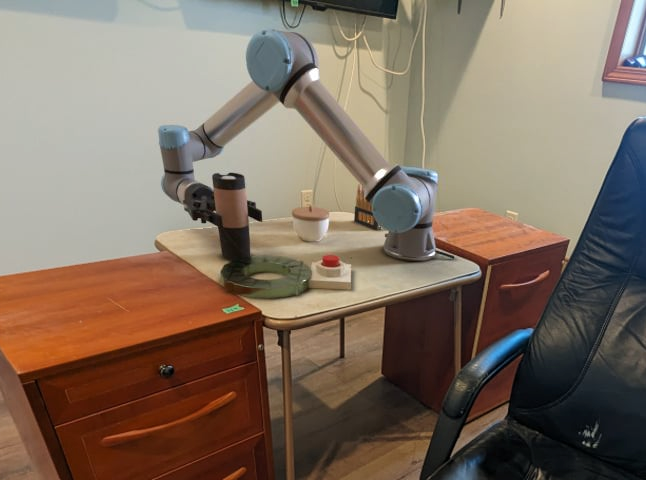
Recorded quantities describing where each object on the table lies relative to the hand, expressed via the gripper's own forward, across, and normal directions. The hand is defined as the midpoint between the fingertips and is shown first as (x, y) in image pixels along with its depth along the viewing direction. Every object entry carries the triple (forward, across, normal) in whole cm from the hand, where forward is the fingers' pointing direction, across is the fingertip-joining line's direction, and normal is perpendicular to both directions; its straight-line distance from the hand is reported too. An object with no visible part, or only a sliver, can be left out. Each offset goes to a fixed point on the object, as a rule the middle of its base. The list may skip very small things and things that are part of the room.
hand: (241, 219), depth 127 cm
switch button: (+21, -11, -7) cm, 25 cm away
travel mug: (-4, 0, -11) cm, 12 cm away
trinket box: (-7, -26, -11) cm, 29 cm away
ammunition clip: (-9, -50, -11) cm, 52 cm away
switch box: (+21, -11, -11) cm, 26 cm away
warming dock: (+14, +2, -11) cm, 18 cm away
